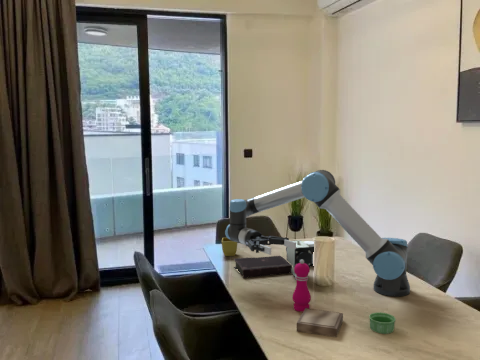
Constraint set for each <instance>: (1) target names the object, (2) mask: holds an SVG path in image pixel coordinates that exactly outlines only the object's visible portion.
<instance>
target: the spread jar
mask: <svg viewBox="0 0 480 360" xmlns="http://www.w3.org/2000/svg"><path fill="white" fill-rule="evenodd" d="M303 242H304V243H307V244H309V247H310V253H312V264H310V268H311V267H314V266H313V252H314V242H315V241H312V240H305V241H303Z"/></svg>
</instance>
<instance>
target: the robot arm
mask: <svg viewBox="0 0 480 360" xmlns="http://www.w3.org/2000/svg"><path fill="white" fill-rule="evenodd" d="M301 199H306V200H307V201H310V202H313V203H314V204H315V206H317V207H318V208H319V209H323V210H326V212H328V214H329V215H330V216H331V217H332V219H334V220H335V221H336V222H337V223H338V225H339V226H341V228H342V229H343V230H344V232H346V233H347V235H349V236H350V237H351V239H353V240H354V242H356V244H357V245H359V247H360V248H361V249H362V250H363V251H364V252H365V259H366V260H367V261H369V263H370V264H371V265H372V269H373V270H374V273H375V279H374V282H373V288H372V289H373V290H374V291H375V292H376V293H378V294H380V295H383V296H389V297H403V296H408V295H410V293H411V286H410V283H409V280H408V275H407V265H408V263H407V261H408V247H409V246H408V241H407V240H406V239H403V238H399V237H397V238H396V237H381V235H379V234H378V233H377V232H376V231H375V230H374V229H373V228H372V227H371V225H370V224H369V223H367V221H366V220H365V219H364V218H363V217H362V216H361V215H360V214H359V213H358V211H356V210H355V208H353V207H352V206H351V205H350V203H348V201H347V200H346V199H345V198H344V197H343V196H342V195H341V188H339V186H338V185H336V179H335V177H334V175H333V174H332V172H330V171H328V170H326V169H318V170H315V171H313V172H312V171H311V172H310V173H309V174H307V175H306V176H304V177H303V178H302V180H300V181H297V182H294V183H291V184H288V185H286V186H283V187H280V188H276V189H274V190H272V191H268V192H265V193H263V194H260V195H257V196H254V197H251V198H246V199H241V198H235V199H231V200H230V201H229V208H228V209H229V224H228V225H227V226H226V228H225V231H224V235H225V238H228V239H230V240H232V241H234V242H237V244H241V245H243V246H244V245H245V246H246V247H248V248H249V250H250V252H255V253H256V254H259V253H260V252H261V253H264V254H267V255H271V256H272V247H269V246H271V245H277V246H280V245H281V246H284V247H285V248H286V247H289V248H292V249H296V242H293V241H294V240H290V238H289V237H288V236H286V237H283V236H274V235H268V236H265V235H262V233H261V232H260V231H258V230H255V229H253V228H249V227H247V217H250V216H252V215H255V214H258V213H261V212H263V211H268V210H270V209H274V208H275V207H278V206H282V205H285V204H288V203H291V202H294V201H297V200H301Z"/></svg>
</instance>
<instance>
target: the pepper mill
mask: <svg viewBox="0 0 480 360" xmlns="http://www.w3.org/2000/svg"><path fill="white" fill-rule="evenodd" d="M310 269H311V268H309V266H308V265H307V264H305V263H304V260H303V259H301V260H300V263H298V264H296V265H295V268H294V272H295V274H296V275H295V276H296V277H295V276H294V277H295V280H296V284H295V288H294V290H293V293H292V299H291V300H292V301H293V302H294V303H293V310H294V311H295V312H296V311H297V312H301V313H303V312H304V310H305V308H309V309H311V308H310V307H311V305H310V302H311V301H312V296H311V292H310V290H309V288H308V280H309V274H310Z"/></svg>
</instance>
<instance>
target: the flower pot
mask: <svg viewBox="0 0 480 360" xmlns="http://www.w3.org/2000/svg"><path fill="white" fill-rule="evenodd" d="M221 248H222V253H223V256H225V257H235V256H236V254H237V251H238V250H237V249H238V242H234V241H232V240H230V239H228V238H227V237H222V239H221Z"/></svg>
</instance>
